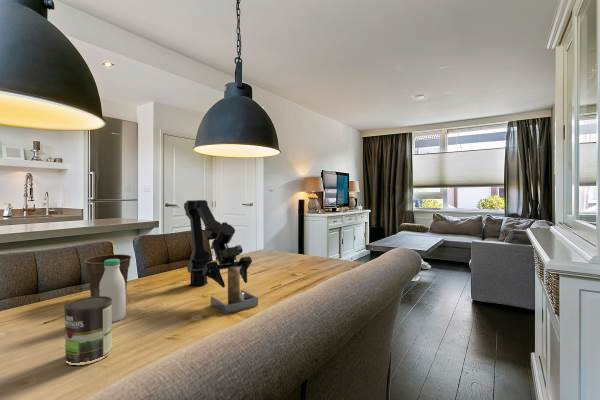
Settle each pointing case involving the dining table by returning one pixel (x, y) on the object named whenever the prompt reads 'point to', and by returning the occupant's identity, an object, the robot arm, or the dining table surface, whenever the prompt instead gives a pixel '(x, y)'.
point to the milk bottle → (114, 288)
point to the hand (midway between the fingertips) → (235, 284)
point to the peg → (233, 284)
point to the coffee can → (88, 328)
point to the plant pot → (97, 270)
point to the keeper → (236, 303)
